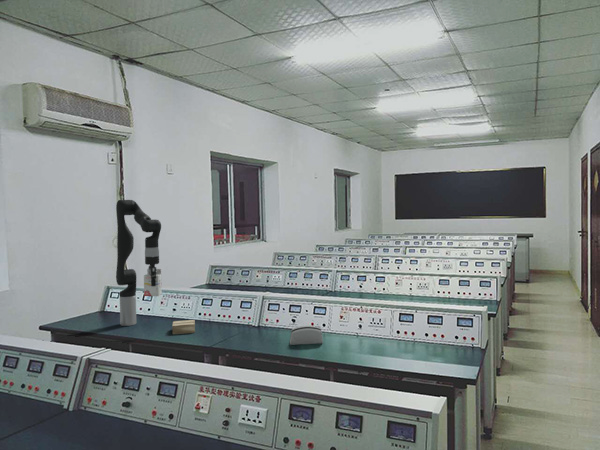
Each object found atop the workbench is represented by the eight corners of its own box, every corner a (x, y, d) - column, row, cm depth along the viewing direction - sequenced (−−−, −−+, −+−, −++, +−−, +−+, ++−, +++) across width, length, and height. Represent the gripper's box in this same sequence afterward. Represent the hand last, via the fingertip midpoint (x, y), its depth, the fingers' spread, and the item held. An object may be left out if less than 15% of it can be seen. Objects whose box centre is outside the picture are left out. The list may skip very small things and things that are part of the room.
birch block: (173, 329, 278) (173, 321, 278) (194, 328, 281) (194, 319, 281) (172, 334, 267) (172, 325, 267) (194, 333, 269) (194, 324, 269)
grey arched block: (321, 340, 247) (322, 323, 243) (323, 346, 243) (323, 328, 239) (289, 342, 245) (289, 325, 242) (289, 347, 241) (290, 330, 237)
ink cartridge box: (143, 296, 268) (143, 269, 268) (147, 294, 273) (146, 268, 273) (158, 296, 267) (158, 269, 267) (162, 294, 272) (161, 268, 272)
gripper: (143, 254, 275) (144, 284, 275) (146, 256, 262) (146, 287, 262) (157, 254, 278) (158, 283, 278) (160, 256, 264) (161, 286, 265)
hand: (152, 285), depth 270 cm, fingers closed on ink cartridge box, 6 cm apart
